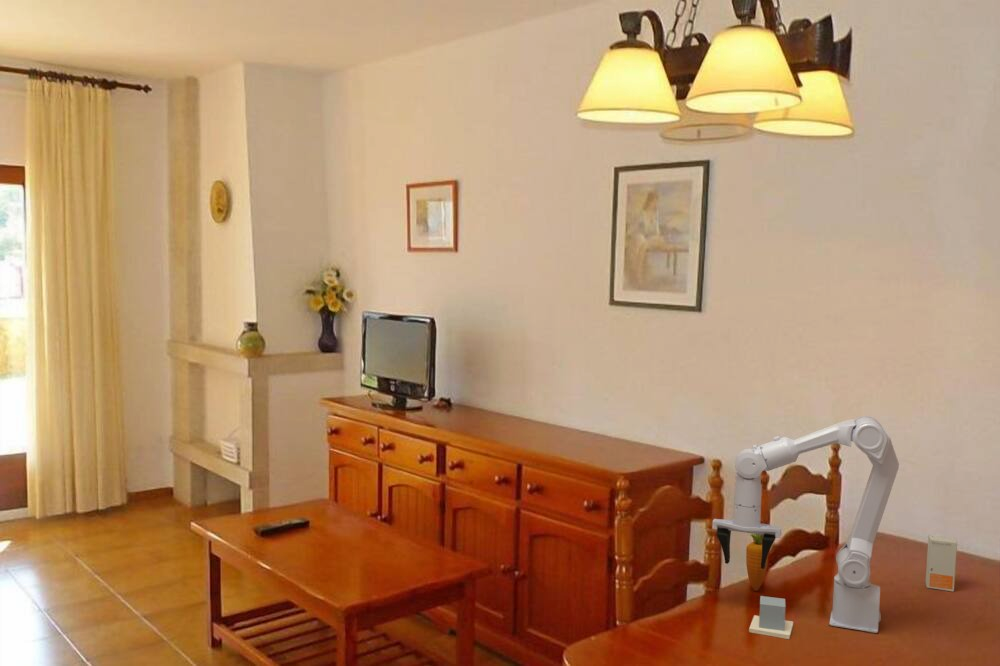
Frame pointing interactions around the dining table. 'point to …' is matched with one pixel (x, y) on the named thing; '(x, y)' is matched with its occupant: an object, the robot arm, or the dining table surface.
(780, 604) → the cube
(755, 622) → the coaster
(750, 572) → the carrot
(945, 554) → the skincare box
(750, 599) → the dining table surface
